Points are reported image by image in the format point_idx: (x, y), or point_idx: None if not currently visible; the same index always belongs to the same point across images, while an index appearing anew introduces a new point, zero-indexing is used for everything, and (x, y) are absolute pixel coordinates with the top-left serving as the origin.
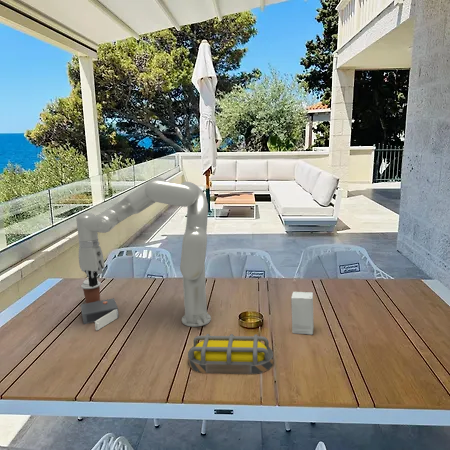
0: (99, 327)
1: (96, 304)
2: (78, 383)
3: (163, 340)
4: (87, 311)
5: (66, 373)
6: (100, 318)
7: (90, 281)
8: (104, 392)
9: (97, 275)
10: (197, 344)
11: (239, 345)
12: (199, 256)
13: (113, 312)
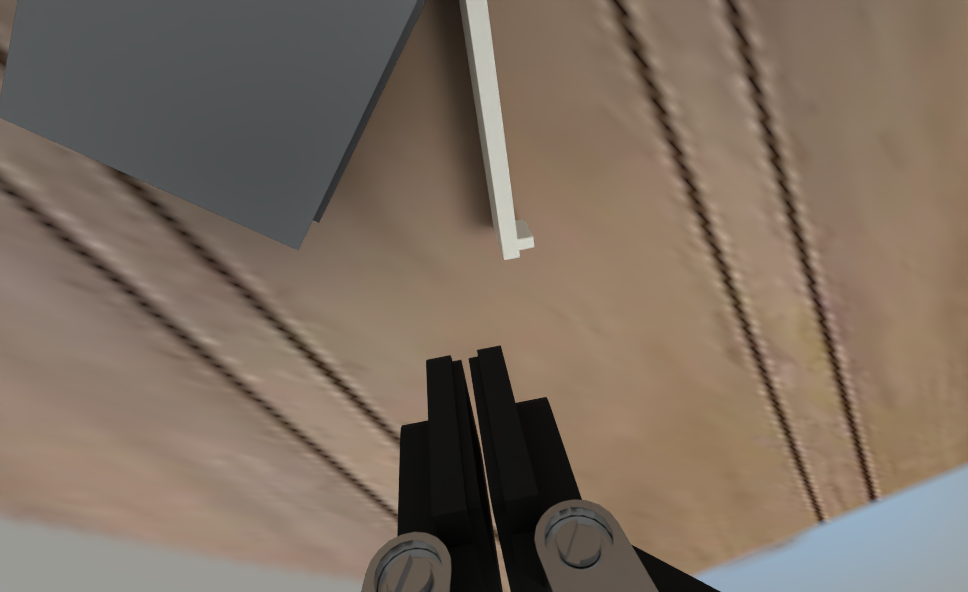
0: (525, 222)
1: (142, 2)
2: (782, 495)
3: None
4: (264, 186)
5: (691, 494)
6: (502, 201)
7: (493, 531)
8: (907, 471)
9: (616, 530)
10: None
11: None
12: None
13: (488, 24)
